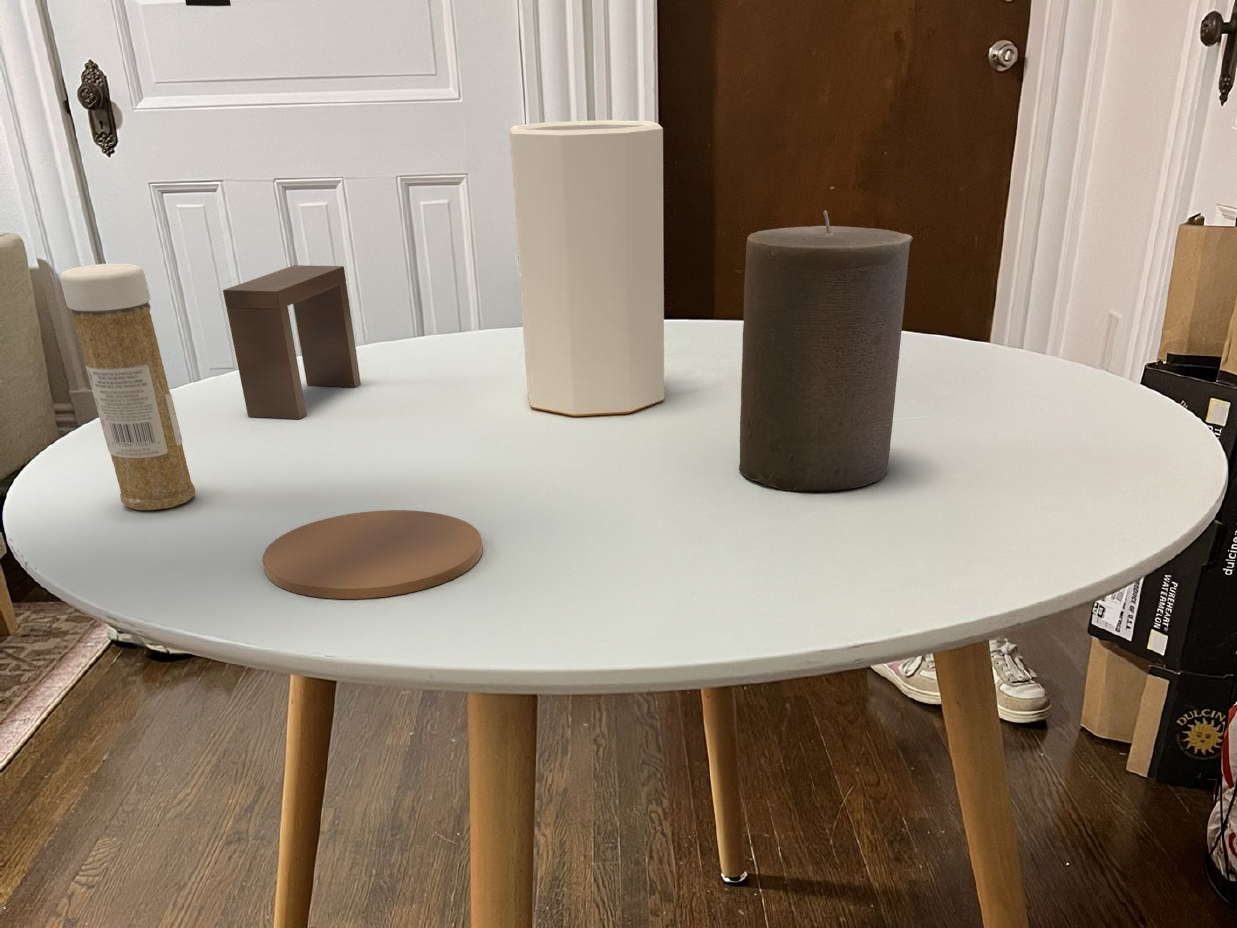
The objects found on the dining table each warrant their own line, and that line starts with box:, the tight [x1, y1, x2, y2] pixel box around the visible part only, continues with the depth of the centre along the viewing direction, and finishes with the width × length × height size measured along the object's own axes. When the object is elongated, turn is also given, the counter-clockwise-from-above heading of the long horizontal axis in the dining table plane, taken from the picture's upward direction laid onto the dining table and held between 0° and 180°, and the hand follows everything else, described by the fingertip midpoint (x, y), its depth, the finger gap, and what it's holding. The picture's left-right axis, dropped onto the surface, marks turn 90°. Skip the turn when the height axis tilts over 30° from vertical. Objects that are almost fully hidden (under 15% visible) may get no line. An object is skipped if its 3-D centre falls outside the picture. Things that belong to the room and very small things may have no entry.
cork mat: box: [262, 509, 483, 600], centre depth 65 cm, size 12×12×1 cm
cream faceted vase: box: [509, 119, 665, 417], centre depth 88 cm, size 11×11×18 cm
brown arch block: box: [222, 264, 362, 420], centre depth 92 cm, size 4×11×9 cm, turn 166°
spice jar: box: [59, 263, 196, 511], centre depth 71 cm, size 5×5×14 cm
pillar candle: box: [738, 210, 914, 492], centre depth 73 cm, size 10×10×15 cm
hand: (286, 1), depth 54 cm, fingers closed on tape roll, 7 cm apart
